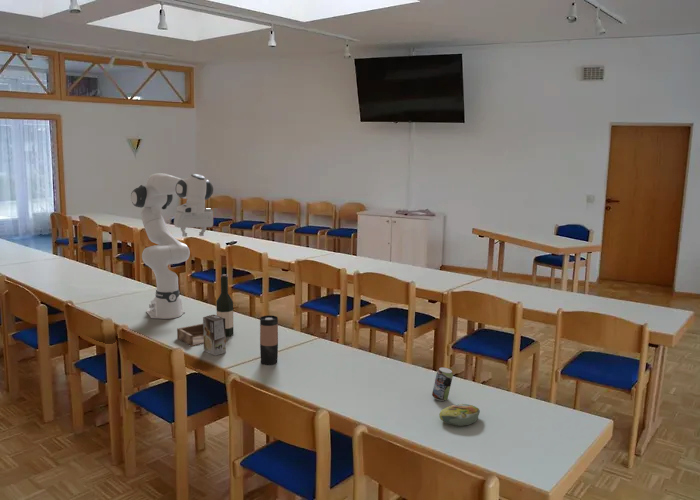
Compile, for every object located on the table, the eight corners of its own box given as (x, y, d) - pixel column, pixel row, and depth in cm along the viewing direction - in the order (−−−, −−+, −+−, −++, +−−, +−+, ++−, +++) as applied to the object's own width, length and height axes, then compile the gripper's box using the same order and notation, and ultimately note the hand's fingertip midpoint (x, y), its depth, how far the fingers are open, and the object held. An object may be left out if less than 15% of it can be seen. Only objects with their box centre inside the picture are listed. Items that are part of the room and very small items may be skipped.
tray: (177, 338, 295) (177, 328, 294) (204, 332, 304) (204, 323, 303) (191, 346, 284) (190, 336, 283) (219, 340, 293) (218, 330, 293)
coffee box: (226, 352, 277) (226, 318, 274) (214, 356, 273) (214, 321, 270) (214, 347, 283) (214, 314, 280) (203, 350, 279) (202, 316, 276)
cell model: (431, 412, 216) (464, 390, 221) (440, 431, 217) (473, 409, 222) (447, 418, 206) (482, 396, 211) (456, 439, 207) (490, 416, 212)
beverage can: (430, 395, 235) (431, 366, 233) (449, 395, 236) (450, 365, 234) (433, 402, 229) (435, 372, 227) (453, 402, 230) (454, 372, 227)
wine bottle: (235, 332, 306) (235, 273, 301) (231, 337, 298) (230, 277, 293) (219, 331, 307) (218, 272, 302) (214, 336, 299) (213, 276, 293)
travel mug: (280, 360, 269) (280, 316, 265) (273, 366, 262) (273, 321, 258) (265, 358, 271) (265, 314, 268) (257, 364, 264) (256, 319, 260)
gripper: (209, 207, 307) (207, 234, 310) (173, 206, 293) (171, 235, 295) (217, 209, 303) (214, 236, 306) (180, 209, 288) (178, 238, 291)
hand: (193, 236), depth 300 cm, fingers open, 8 cm apart
